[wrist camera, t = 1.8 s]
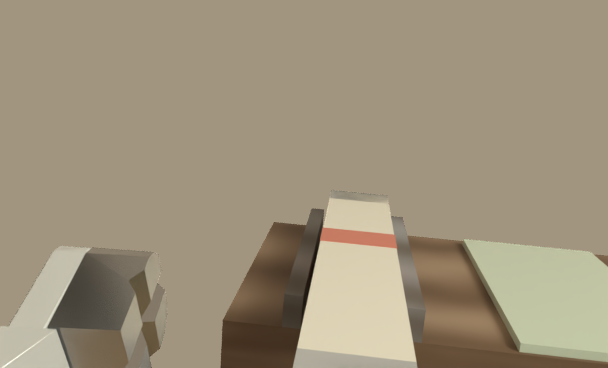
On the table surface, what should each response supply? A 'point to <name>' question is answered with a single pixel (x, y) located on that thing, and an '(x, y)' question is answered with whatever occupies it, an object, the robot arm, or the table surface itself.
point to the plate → (547, 297)
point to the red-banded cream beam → (356, 291)
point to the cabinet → (418, 293)
